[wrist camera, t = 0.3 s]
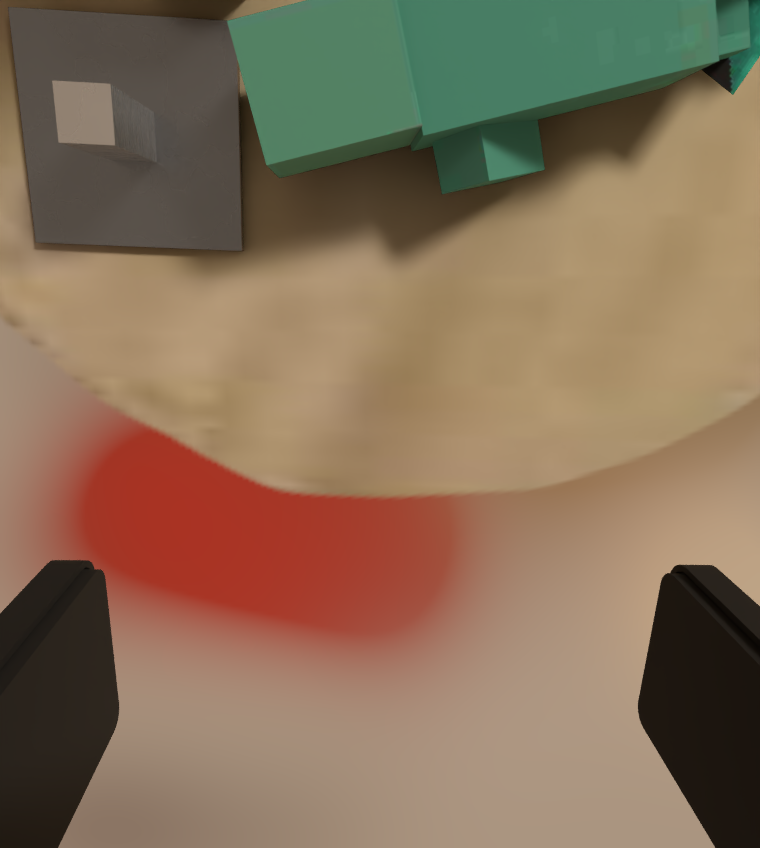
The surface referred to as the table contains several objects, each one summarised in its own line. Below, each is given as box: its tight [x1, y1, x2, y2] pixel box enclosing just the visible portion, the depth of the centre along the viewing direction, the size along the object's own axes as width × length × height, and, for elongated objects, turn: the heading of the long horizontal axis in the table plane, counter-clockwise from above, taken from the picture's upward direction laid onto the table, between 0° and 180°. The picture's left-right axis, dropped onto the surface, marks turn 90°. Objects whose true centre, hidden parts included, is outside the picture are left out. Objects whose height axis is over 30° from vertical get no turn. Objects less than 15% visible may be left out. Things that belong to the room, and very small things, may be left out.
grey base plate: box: [8, 7, 243, 251], centre depth 31 cm, size 12×12×7 cm
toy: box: [227, 0, 760, 194], centre depth 30 cm, size 12×10×30 cm
